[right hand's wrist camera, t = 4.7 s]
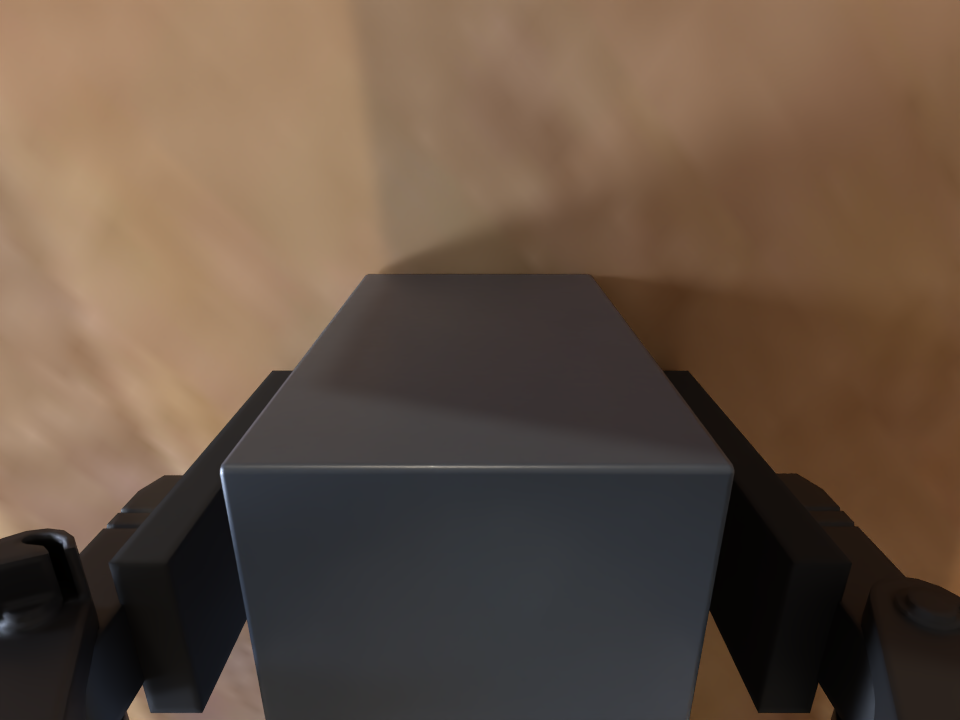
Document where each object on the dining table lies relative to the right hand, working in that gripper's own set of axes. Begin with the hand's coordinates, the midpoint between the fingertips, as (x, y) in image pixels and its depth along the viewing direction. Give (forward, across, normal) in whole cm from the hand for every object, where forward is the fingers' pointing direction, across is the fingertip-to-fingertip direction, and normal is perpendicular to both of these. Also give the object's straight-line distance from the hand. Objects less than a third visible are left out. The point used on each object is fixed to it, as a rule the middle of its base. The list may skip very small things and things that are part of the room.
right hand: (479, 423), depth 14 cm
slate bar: (0, 0, -10) cm, 10 cm away
